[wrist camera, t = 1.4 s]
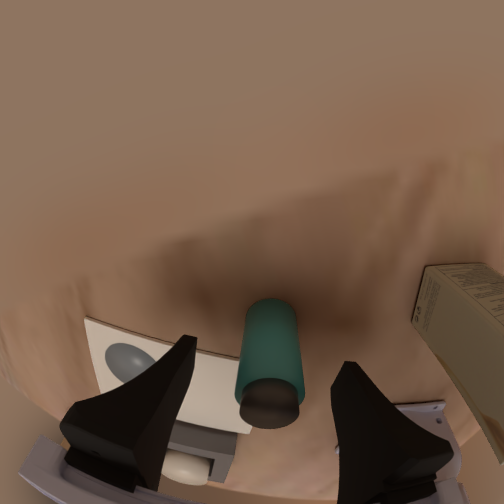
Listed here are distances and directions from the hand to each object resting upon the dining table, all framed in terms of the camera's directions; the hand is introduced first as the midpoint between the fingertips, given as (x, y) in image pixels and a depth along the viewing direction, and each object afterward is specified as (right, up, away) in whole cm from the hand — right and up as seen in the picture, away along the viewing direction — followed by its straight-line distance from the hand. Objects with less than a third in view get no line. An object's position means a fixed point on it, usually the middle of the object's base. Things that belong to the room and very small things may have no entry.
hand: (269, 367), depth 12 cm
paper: (-7, -5, +7) cm, 11 cm away
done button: (-7, -14, +8) cm, 18 cm away
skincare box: (+13, +3, +3) cm, 13 cm away
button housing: (-7, -14, +10) cm, 18 cm away
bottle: (0, +1, +4) cm, 4 cm away
